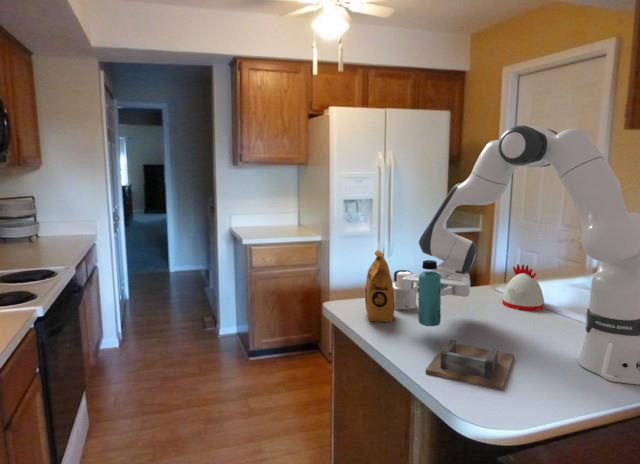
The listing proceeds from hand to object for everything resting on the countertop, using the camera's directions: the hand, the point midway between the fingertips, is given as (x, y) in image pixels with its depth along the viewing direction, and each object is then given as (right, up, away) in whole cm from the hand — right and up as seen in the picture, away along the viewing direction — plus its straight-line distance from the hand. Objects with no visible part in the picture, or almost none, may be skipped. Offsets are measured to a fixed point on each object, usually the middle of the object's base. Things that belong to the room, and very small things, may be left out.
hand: (428, 291), depth 134 cm
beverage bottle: (+1, -11, +2) cm, 11 cm away
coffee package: (-11, -12, +23) cm, 28 cm away
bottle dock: (+8, -17, -14) cm, 24 cm away
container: (-1, -10, +35) cm, 36 cm away
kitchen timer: (+43, -10, +35) cm, 56 cm away
